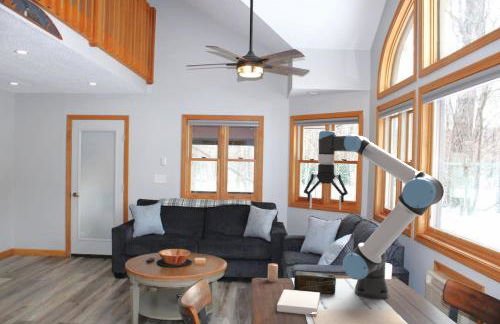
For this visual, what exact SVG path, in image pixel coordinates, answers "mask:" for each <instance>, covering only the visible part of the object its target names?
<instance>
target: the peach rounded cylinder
mask: <svg viewBox="0 0 500 324" xmlns="http://www.w3.org/2000/svg"><path fill="white" fill-rule="evenodd" d="M278 271H279V265H278V263H267V281H268V282H271V283H277V282H278V276H279V275H278V273H279V272H278Z"/></svg>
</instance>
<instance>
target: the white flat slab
mask: <svg viewBox="0 0 500 324" xmlns="http://www.w3.org/2000/svg"><path fill="white" fill-rule="evenodd" d="M320 299H321V293H319V292H308V291H297V290H294V289H284V288H283V290H282V293H281V295H280V297H279V299H278V302H277V303H276V304H277V305H276V311H277V312H280V313H291V314H299V315H307V314H310V313H312V312H317V310H318V311H319V307H318V306H320ZM317 313H318V312H317Z"/></svg>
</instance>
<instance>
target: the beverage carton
mask: <svg viewBox="0 0 500 324" xmlns="http://www.w3.org/2000/svg"><path fill="white" fill-rule="evenodd" d="M293 280H294V281H293V287H294V288H293V290H297V291H308V292H319V293H320V294H321V293H322V294H335V295H336V286H337V285H336V284H337V276H336V274H333V273H321V272H311V271H310V272H309V271H295V274H294V279H293Z"/></svg>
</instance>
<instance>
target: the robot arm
mask: <svg viewBox="0 0 500 324" xmlns="http://www.w3.org/2000/svg"><path fill="white" fill-rule="evenodd" d="M336 152H349V153H350V152H353V153H356V154H358V155H360V156H361V157H363V158H365V159H366V160H367V161H369V162H371V163H372V164H373V165H376V166H377V167H378V168H380V169H381V170H383V171H384V172H386V173H387V174H389V175H391V176H392V177H393V178H394V179H395V178H396V179H397V180H399V182H401V183H403V184H404V186H403V187H402V191H401V193H400V194H399V196H398V197H397V201H398V203H397V204H396V205H395V206H394V208H393V209H392V210H391V211H390V212H389V213H388V214H387V215H386V217H385V218H384V219H383V220H382V221H381V223H380V224H379V225H378V227H377V228H376V229H374V231H373V232H372V233H371V235H370V236H369V237H368V238H367V239H366V240H365V242H359V243H358V244H357V246H356V247H355V248H354V249H353V250H352V252H349V253H347V254H346V255H345V256H344V257H343V260H342V267H343V270H344V273H345V274H346V275H347V276H348V277H349V278H351V279H353V280H357V281H356V284H355V286H354V293H355V294H356V295H357V294H358V295H357V296H359V295H360V296H359V297H362V296H363V297H362V298H365V297H366V299H371V298H372V299H373V300H382V299H387V298H389V288H388V284H387V282H386V257H387V256H386V254H387V253H386V252H387V250H388V249H389V247H391V245H392V244H393V243H394V242H395V241H396V240H397V239H398V237H399V236H400V235H401V234H402V233H403V231H405V229H406V228H408V226H409V225H410V224H411V222H412V221H413V220H414V219H415V218H416V217H422V216H423V215H424V214H425V213H426V212H427V211H428V210H429V208H430V207H431V206H433V205H435V204H438V203H439V202H440V201H441V200H442V199H443V197H444V194H445V193H444V192H445V190H444V189H445V188H444V185H443V184H442V182H440V180H439V179H437V178H435V177H434V176H431V175H430V174H427V172H426V173H425V172H424V171H423V170H420V171H418V170H417V169H415V168H413V167H412V166H410V165H408V164H407V163H405V162H403V161H401V160H400V159H399V158H397V157H395V156H394V155H392V154H391V153H389V152H388V151H385V150H384V149H383V148H381V147H379V146H377V145H376V144H374V143H373V142H370V140H369V139H368V138H367V137H365V136H362V135H358V134H336V131H334V130H320V131H319V132H318V154H317V155H318V156H317V159H318V161H317V163H318V165H317V174H316V173H315V174H314V173H311V174H310V179H309V181H308V182H307V184H306V187H305V188H304V190H303V193H304V194H306V195H307V202H309V209H312V207H313V206H312V205H313V194H312V192H313V191H314V190H315V189H316V188H317V187H318V186H319V185H320V184H325V185H326V184H327V185H330V184H331V185H332V186H333V187H334V189H335V190H336V191H337V192H338V193H339V194H340V195H339V205H338V207H339V208H338V210H339V211H341V210H342V203H344V198H345V196H347V195H348V194H349V193H348V190H347V189H346V186H345V184H344V182H343V180H342V175H341V174H340V173H339V174H335V164H334V163H335V155H336V154H335V153H336ZM316 178H317V179H318V180H317V182H316V183H315V184H314V185H313V186H312V187H311V188H310V186H311V185H312V182H313V181H314V179H316ZM335 179H336V180H338V182H339V184H340V187H341V188H342V190H343V191H342V190H341V188H340V187H339V186H338V185H337V184H336V182H335V181H334V180H335ZM309 188H310V190H309ZM372 299H371V300H372Z"/></svg>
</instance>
